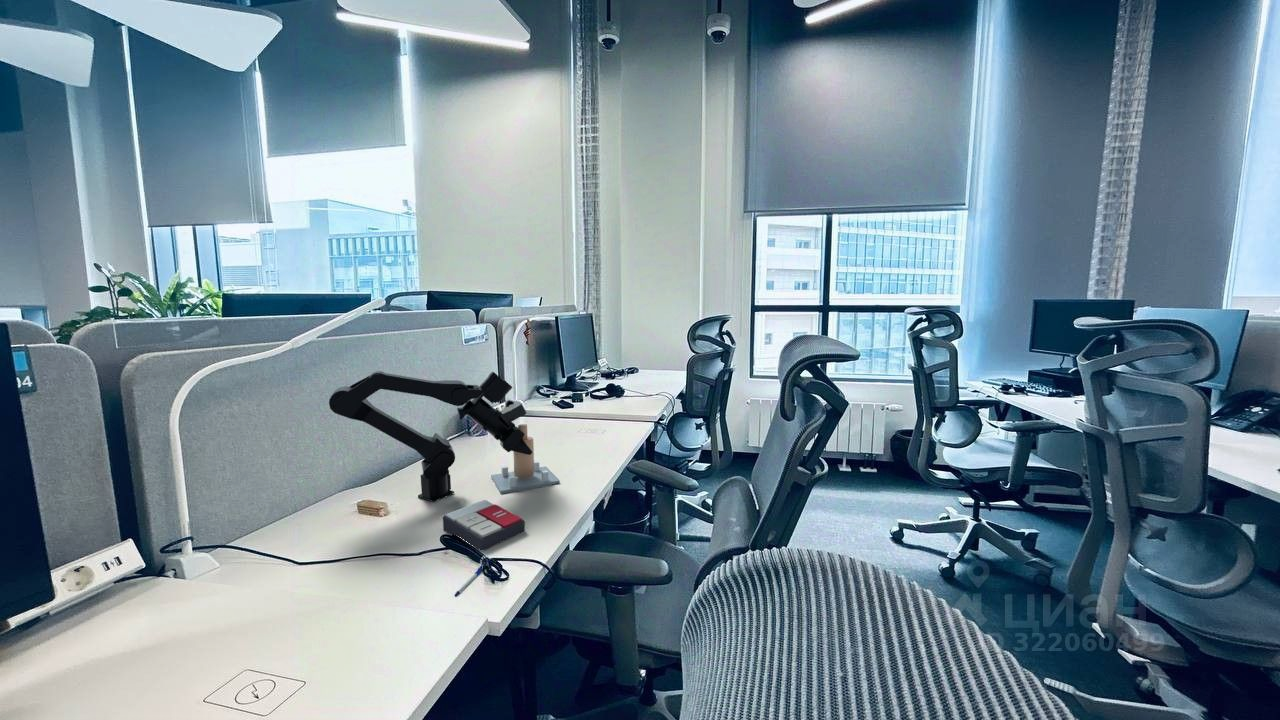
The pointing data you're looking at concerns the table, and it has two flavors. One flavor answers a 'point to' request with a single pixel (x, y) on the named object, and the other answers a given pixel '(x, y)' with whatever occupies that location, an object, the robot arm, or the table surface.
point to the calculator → (483, 524)
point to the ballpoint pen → (469, 580)
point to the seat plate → (523, 479)
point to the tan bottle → (524, 457)
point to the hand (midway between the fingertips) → (528, 450)
